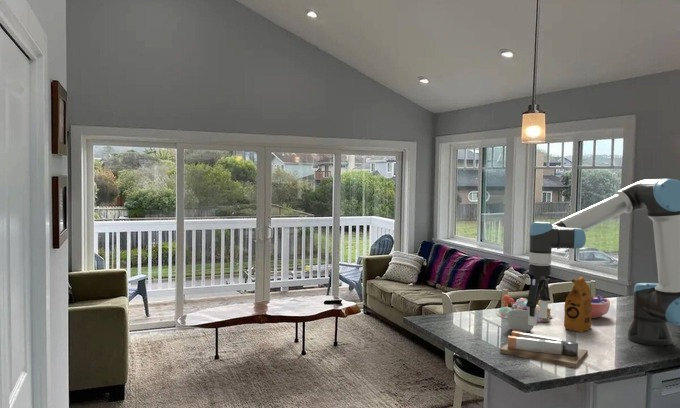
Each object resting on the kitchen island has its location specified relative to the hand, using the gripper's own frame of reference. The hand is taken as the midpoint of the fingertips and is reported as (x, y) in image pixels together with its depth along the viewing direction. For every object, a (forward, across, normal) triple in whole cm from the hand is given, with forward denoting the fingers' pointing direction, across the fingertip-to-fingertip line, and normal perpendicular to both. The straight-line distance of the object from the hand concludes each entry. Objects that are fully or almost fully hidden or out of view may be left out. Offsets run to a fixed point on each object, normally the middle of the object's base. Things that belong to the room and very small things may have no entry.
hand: (537, 321), depth 188 cm
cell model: (+11, -69, +4) cm, 70 cm away
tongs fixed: (+10, 0, +2) cm, 10 cm away
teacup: (+12, -26, -15) cm, 32 cm away
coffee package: (+11, -44, +4) cm, 46 cm away
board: (+12, 0, +2) cm, 12 cm away
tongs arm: (+10, +4, 0) cm, 11 cm away
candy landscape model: (+12, -51, -20) cm, 56 cm away
